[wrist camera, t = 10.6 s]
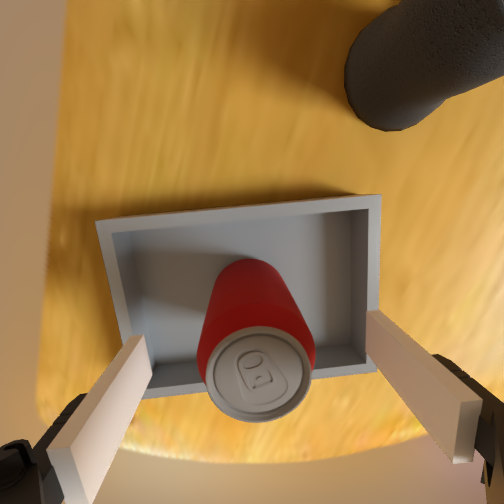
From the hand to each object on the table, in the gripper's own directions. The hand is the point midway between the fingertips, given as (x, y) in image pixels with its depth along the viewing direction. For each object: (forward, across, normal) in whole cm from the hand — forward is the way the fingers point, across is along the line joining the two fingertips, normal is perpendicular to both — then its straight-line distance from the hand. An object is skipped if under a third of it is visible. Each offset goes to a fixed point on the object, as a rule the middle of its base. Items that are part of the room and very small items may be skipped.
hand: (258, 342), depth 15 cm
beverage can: (+10, 0, -1) cm, 10 cm away
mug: (+11, +15, +18) cm, 26 cm away
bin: (+10, 0, -1) cm, 10 cm away
